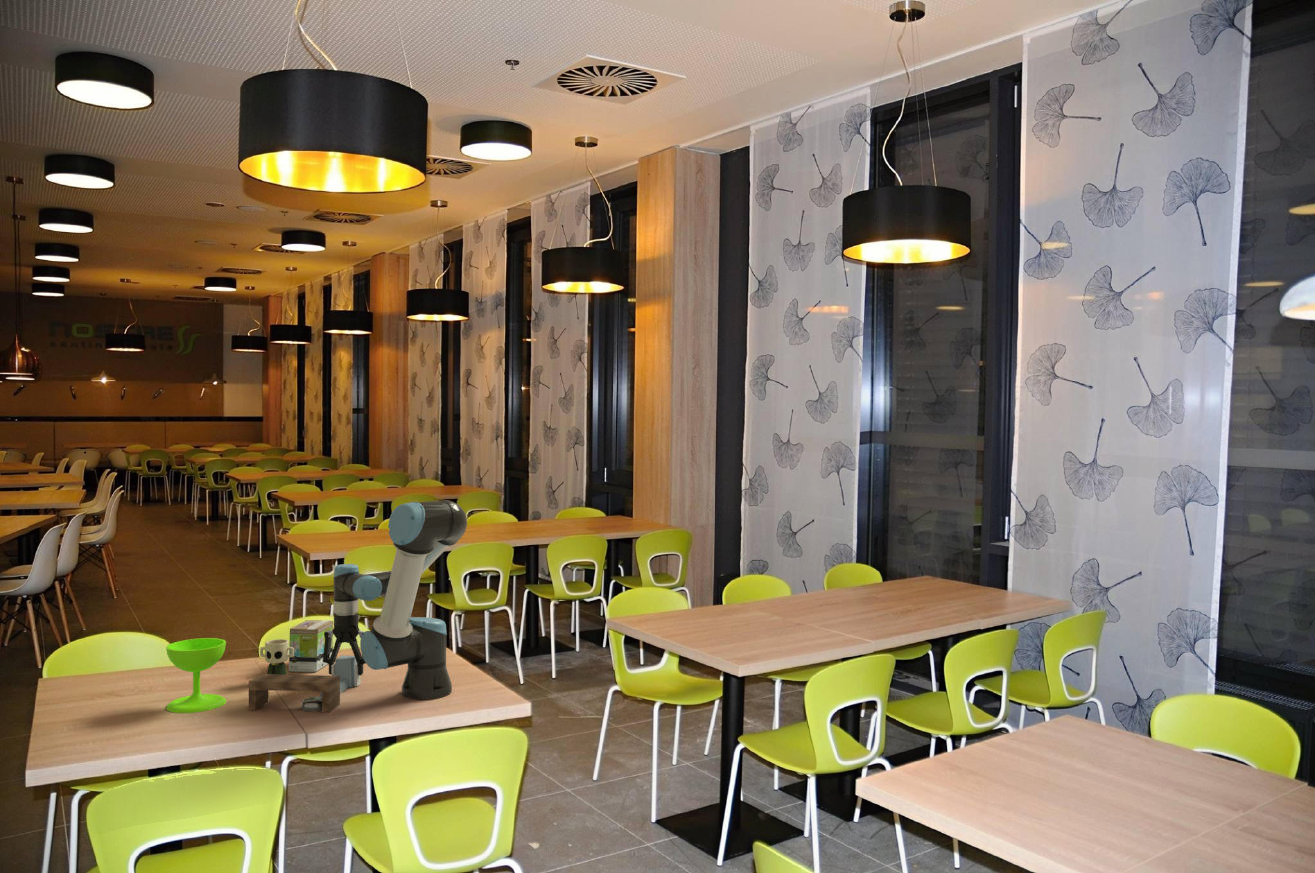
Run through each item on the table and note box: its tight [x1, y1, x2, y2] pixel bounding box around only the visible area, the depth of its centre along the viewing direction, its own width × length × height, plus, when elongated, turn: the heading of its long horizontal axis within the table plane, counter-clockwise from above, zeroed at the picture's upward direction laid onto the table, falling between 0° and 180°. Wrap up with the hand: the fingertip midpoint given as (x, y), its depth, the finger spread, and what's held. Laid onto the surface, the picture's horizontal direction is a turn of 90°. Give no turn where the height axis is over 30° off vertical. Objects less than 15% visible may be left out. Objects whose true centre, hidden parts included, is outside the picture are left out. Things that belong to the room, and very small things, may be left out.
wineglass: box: [165, 637, 227, 714], centre depth 280 cm, size 16×16×18 cm
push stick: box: [319, 654, 357, 697], centre depth 295 cm, size 18×5×9 cm, turn 176°
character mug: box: [259, 638, 294, 675], centre depth 305 cm, size 11×7×13 cm, turn 90°
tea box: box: [288, 619, 334, 673], centre depth 324 cm, size 15×10×15 cm
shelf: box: [248, 673, 341, 713], centre depth 278 cm, size 24×8×8 cm, turn 86°
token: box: [301, 696, 322, 713], centre depth 278 cm, size 7×7×2 cm
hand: (346, 684), depth 302 cm, fingers open, 7 cm apart
